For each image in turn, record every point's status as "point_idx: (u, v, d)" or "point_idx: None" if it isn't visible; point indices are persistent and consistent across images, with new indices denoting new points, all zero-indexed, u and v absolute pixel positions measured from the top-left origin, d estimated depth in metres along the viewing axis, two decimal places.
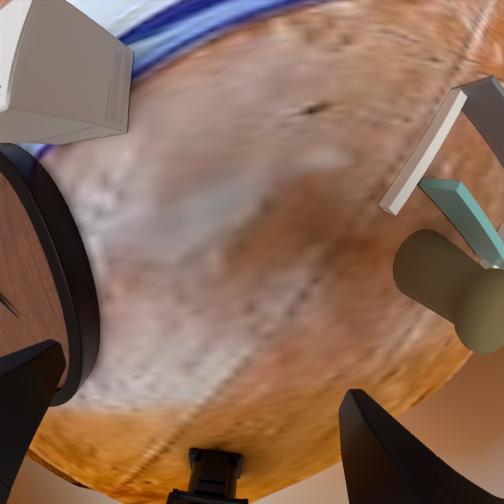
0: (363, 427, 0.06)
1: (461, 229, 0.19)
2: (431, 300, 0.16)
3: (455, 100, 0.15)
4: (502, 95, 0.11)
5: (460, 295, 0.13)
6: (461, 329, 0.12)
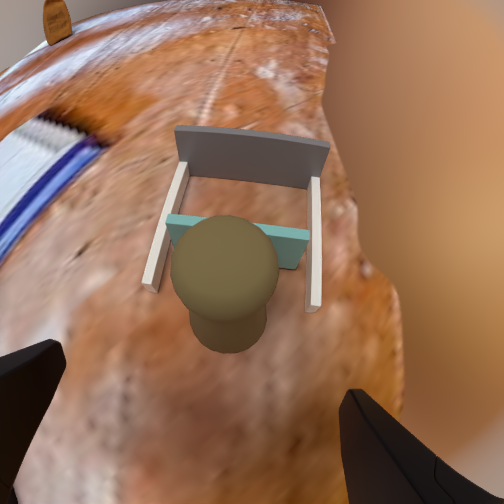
0: (363, 427, 0.06)
1: None
2: (200, 322, 0.16)
3: (176, 172, 0.26)
4: (189, 130, 0.23)
5: None
6: (184, 303, 0.13)
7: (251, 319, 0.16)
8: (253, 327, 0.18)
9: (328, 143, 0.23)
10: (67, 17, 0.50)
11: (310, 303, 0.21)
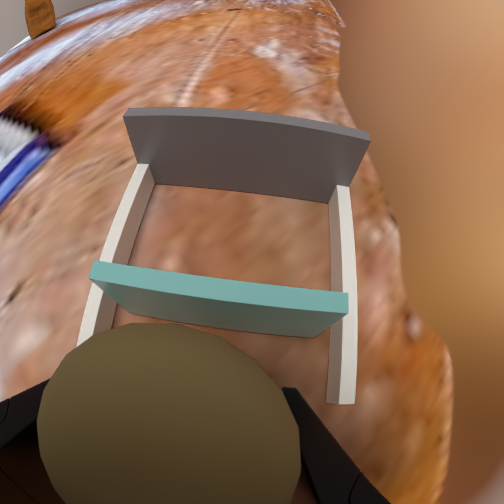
0: None
1: (227, 325, 0.14)
2: None
3: (131, 180, 0.16)
4: (144, 115, 0.13)
5: None
6: None
7: None
8: None
9: (367, 134, 0.14)
10: (50, 8, 0.40)
11: (338, 400, 0.11)
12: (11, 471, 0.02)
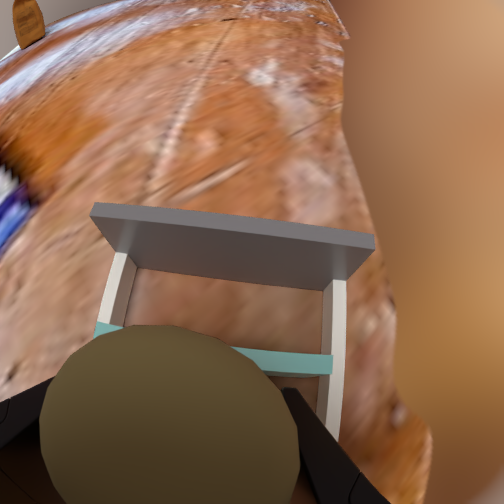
0: None
1: None
2: None
3: (110, 273, 0.15)
4: (112, 216, 0.12)
5: None
6: None
7: None
8: None
9: (372, 238, 0.12)
10: (39, 17, 0.38)
11: None
12: (10, 471, 0.02)
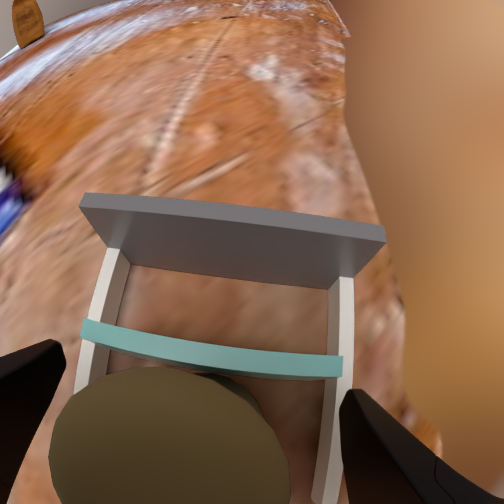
0: (363, 427, 0.06)
1: (221, 372, 0.13)
2: None
3: (102, 270, 0.14)
4: (102, 207, 0.11)
5: None
6: None
7: None
8: None
9: (382, 230, 0.11)
10: (38, 16, 0.38)
11: None
12: None
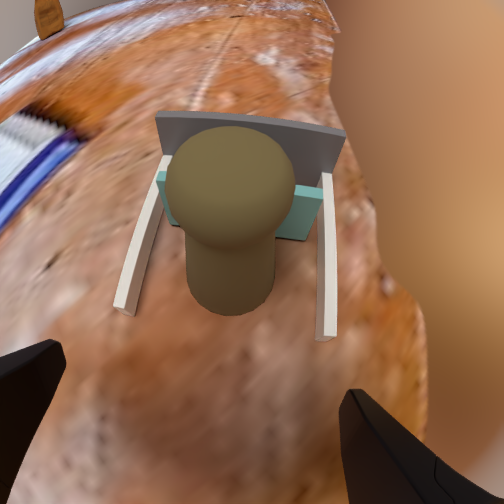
0: (363, 427, 0.06)
1: None
2: (198, 266, 0.14)
3: (159, 167, 0.21)
4: (172, 116, 0.18)
5: None
6: (179, 220, 0.10)
7: (260, 258, 0.14)
8: (261, 274, 0.15)
9: (343, 132, 0.18)
10: (59, 11, 0.45)
11: (323, 333, 0.16)
12: None
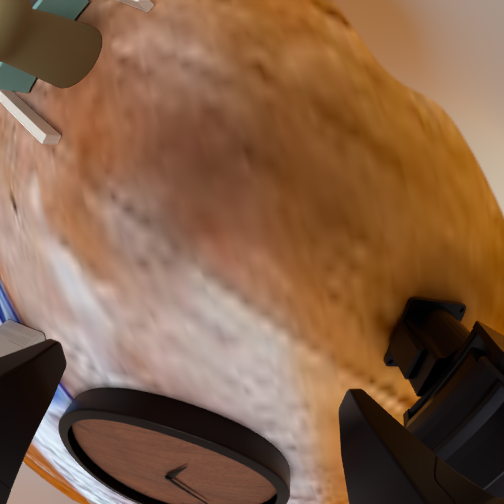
0: (363, 427, 0.06)
1: None
2: (36, 63, 0.11)
3: None
4: None
5: None
6: None
7: (50, 22, 0.10)
8: (67, 27, 0.11)
9: None
10: None
11: (137, 2, 0.13)
12: None
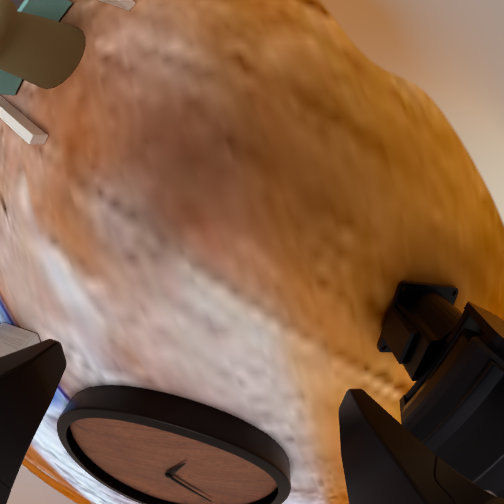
0: (363, 427, 0.06)
1: None
2: (21, 64, 0.11)
3: None
4: None
5: None
6: None
7: (35, 24, 0.09)
8: (52, 28, 0.11)
9: None
10: None
11: (118, 1, 0.12)
12: None
